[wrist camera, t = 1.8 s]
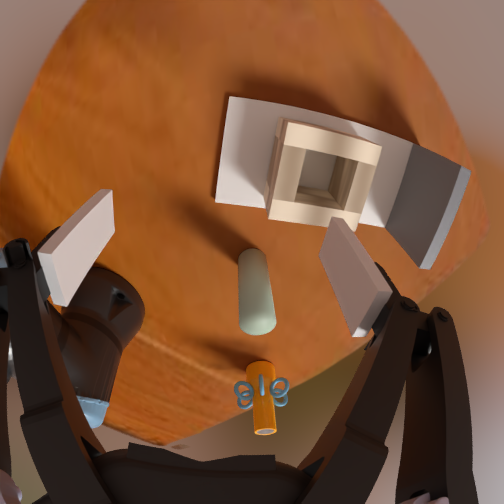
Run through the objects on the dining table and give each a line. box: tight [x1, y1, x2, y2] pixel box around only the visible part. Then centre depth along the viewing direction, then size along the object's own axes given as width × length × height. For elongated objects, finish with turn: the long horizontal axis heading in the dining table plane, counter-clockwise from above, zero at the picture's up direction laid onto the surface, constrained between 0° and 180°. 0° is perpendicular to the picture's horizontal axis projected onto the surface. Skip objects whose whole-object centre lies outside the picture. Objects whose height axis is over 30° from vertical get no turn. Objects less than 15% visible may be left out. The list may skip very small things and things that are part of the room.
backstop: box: [215, 96, 471, 269], centre depth 28 cm, size 26×13×11 cm, turn 81°
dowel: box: [238, 248, 276, 335], centre depth 34 cm, size 4×4×12 cm
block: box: [263, 117, 382, 231], centre depth 28 cm, size 10×10×6 cm
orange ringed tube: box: [234, 361, 289, 435], centre depth 48 cm, size 12×10×15 cm
